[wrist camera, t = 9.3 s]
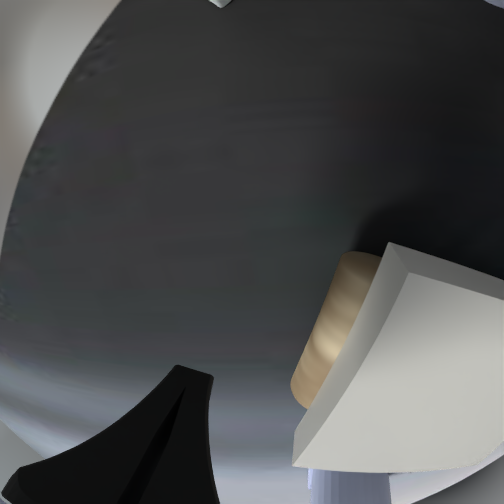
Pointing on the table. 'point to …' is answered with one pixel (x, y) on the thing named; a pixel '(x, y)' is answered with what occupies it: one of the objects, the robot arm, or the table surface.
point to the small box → (220, 2)
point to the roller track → (334, 323)
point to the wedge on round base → (496, 2)
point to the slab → (413, 374)
